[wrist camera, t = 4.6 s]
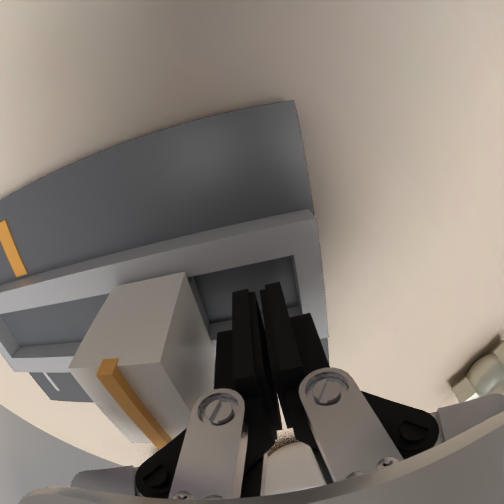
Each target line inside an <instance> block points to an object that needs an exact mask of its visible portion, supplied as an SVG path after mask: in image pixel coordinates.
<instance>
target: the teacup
mask: <svg viewBox="0 0 504 504" xmlns="http://www.w3.org/2000/svg"><path fill="white" fill-rule="evenodd" d="M323 485H325V484H324V482H323V480H322V477H321V475H320V472H319V470H318V468H317V465H316V463H315V460H314V458H313V456H312V453H311V451H310V448H309V446H308V445H306V444H304V443H302V442H300V441H298V442H294V443H290V444H287V445H285V446H282V447H281V448H279V449H278V450H276V451H275V452H273V453H272V454H271V455H270V456H269V457H268V460H267V473H266V484H265V496H266V495H274V494H281V493H287V492H293V491H299V490H304V489H309V488H314V487H318V486H323Z"/></svg>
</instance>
